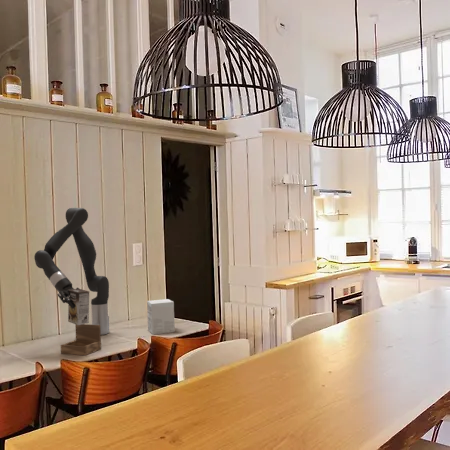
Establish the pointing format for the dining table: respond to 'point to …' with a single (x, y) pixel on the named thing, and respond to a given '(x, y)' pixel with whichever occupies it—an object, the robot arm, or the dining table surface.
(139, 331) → the dining table surface
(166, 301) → the supplement box
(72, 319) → the coffee box
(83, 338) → the open walnut box
